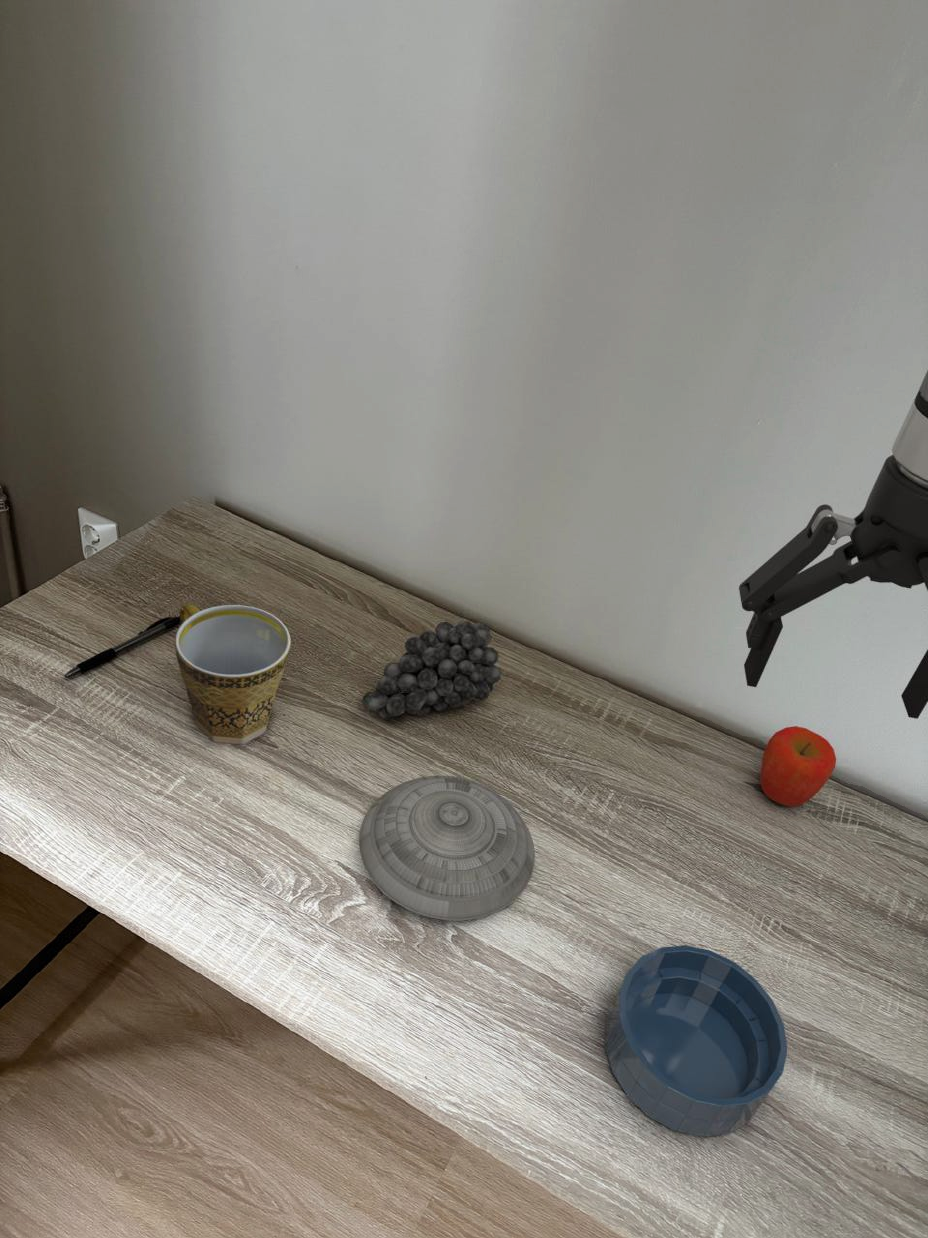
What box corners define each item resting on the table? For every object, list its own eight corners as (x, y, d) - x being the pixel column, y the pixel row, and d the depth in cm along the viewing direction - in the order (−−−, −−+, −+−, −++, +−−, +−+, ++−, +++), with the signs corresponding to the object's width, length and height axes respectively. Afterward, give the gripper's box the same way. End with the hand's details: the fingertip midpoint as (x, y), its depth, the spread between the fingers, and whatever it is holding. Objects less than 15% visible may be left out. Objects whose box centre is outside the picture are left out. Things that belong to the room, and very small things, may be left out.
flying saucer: (414, 764, 92) (422, 722, 88) (559, 838, 87) (572, 797, 84) (322, 873, 81) (326, 829, 77) (481, 964, 76) (493, 922, 73)
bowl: (797, 1096, 71) (822, 1062, 68) (669, 1170, 66) (690, 1136, 63) (694, 961, 79) (712, 924, 76) (572, 1017, 74) (587, 980, 71)
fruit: (378, 667, 88) (514, 623, 95) (337, 638, 94) (467, 599, 101) (387, 751, 91) (517, 702, 98) (346, 717, 98) (471, 674, 105)
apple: (754, 815, 93) (781, 760, 88) (743, 768, 98) (768, 713, 93) (818, 825, 93) (849, 771, 88) (804, 777, 98) (833, 723, 93)
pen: (178, 615, 103) (177, 607, 102) (188, 623, 102) (188, 614, 102) (59, 675, 94) (57, 666, 93) (69, 684, 93) (68, 675, 92)
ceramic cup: (308, 726, 93) (313, 646, 87) (220, 775, 87) (219, 693, 81) (226, 655, 100) (226, 575, 93) (138, 696, 93) (132, 613, 87)
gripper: (1094, 479, 72) (963, 690, 85) (761, 415, 73) (681, 635, 85) (1137, 533, 66) (989, 751, 79) (774, 463, 67) (686, 692, 80)
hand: (829, 692), depth 82 cm, fingers open, 13 cm apart
